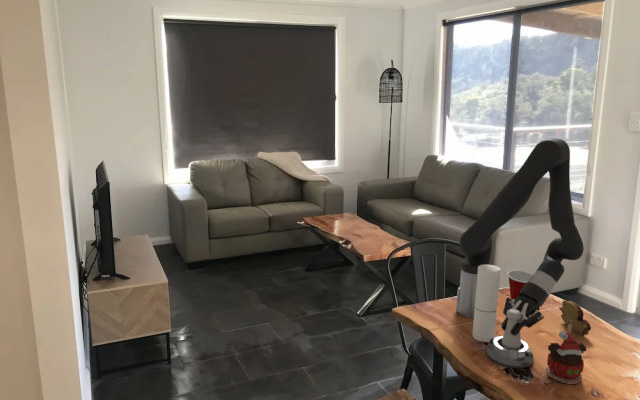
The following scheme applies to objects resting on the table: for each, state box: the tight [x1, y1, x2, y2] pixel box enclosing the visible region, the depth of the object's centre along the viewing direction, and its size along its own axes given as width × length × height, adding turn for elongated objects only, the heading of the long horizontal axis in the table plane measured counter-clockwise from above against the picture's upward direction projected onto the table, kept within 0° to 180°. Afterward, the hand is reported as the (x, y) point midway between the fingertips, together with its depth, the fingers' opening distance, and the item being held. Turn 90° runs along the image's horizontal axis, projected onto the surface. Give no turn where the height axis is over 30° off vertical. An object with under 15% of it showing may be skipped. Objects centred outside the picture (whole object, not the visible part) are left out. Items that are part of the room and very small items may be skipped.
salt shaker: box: [502, 309, 522, 350], centre depth 160 cm, size 6×6×13 cm
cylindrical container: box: [471, 264, 501, 343], centre depth 173 cm, size 7×7×25 cm
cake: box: [546, 320, 587, 385], centre depth 149 cm, size 11×9×18 cm
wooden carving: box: [558, 299, 592, 337], centre depth 181 cm, size 16×5×10 cm, turn 9°
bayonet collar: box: [485, 335, 534, 370], centre depth 162 cm, size 14×14×4 cm
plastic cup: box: [506, 269, 534, 306], centre depth 202 cm, size 11×11×12 cm
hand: (507, 331), depth 159 cm, fingers closed on salt shaker, 3 cm apart
